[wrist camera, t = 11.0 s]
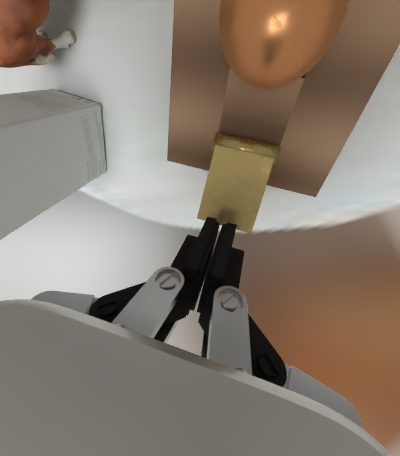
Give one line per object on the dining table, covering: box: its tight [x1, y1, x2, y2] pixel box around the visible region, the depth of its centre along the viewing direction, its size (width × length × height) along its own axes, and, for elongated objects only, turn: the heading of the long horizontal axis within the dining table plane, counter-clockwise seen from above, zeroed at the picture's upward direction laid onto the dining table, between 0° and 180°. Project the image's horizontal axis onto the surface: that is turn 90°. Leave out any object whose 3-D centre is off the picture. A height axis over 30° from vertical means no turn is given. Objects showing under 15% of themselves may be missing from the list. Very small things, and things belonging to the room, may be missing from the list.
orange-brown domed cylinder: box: [219, 0, 349, 88], centre depth 12 cm, size 5×5×8 cm
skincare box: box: [0, 89, 106, 240], centre depth 19 cm, size 8×6×15 cm
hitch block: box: [167, 0, 400, 197], centre depth 15 cm, size 14×12×6 cm
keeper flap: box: [197, 132, 281, 233], centre depth 15 cm, size 6×4×1 cm
